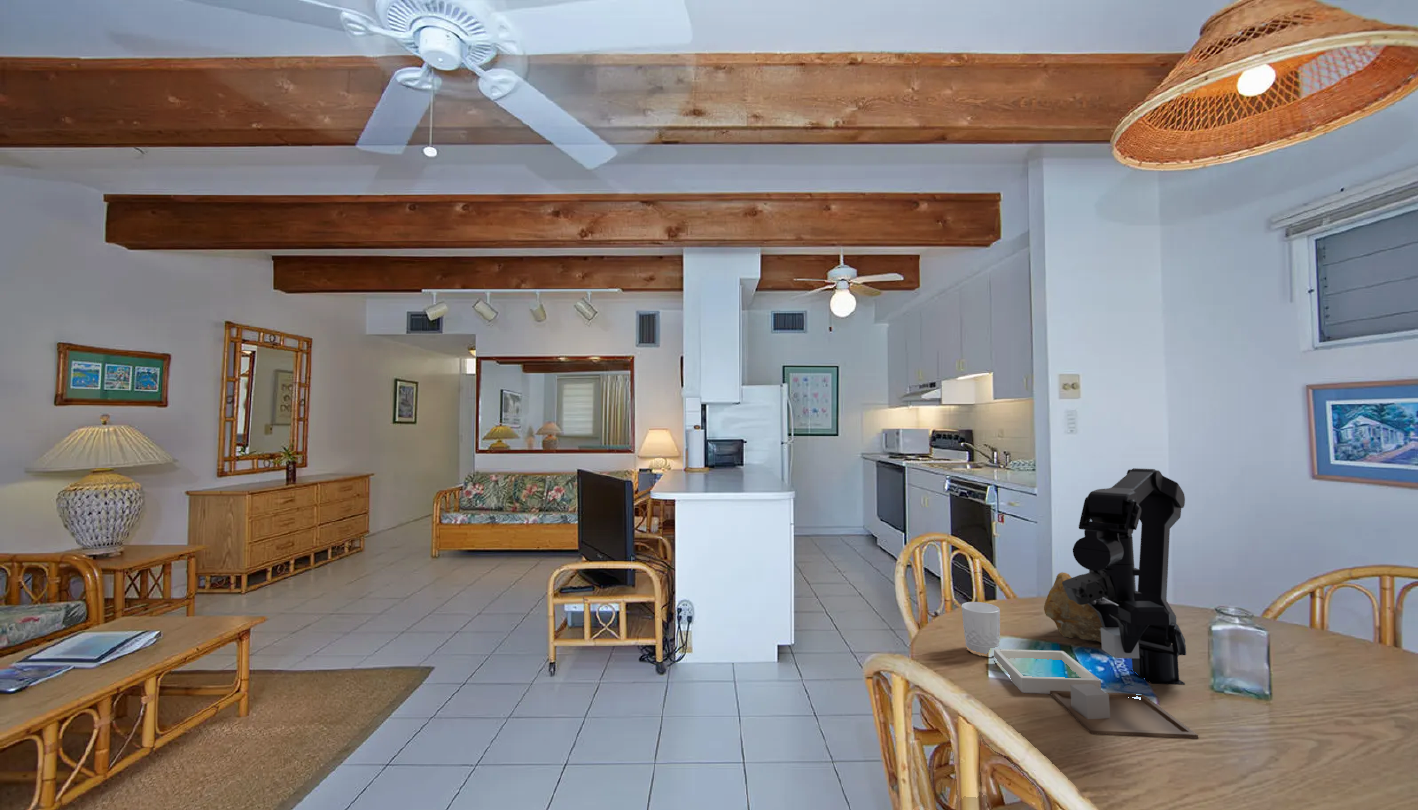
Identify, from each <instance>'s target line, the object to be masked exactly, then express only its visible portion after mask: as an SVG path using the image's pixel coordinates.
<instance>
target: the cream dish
mask: <svg viewBox="0 0 1418 810" xmlns="http://www.w3.org/2000/svg"><path fill="white" fill-rule="evenodd" d="M994 657H995V658H996V659H997V661H998V662H999V663H1000V664H1001V665H1002V667H1003V668H1004V669H1005V670H1006V671H1007V672H1008V674H1009V675H1010V678H1011V680H1012V681H1011V680H1010V681H1011V682H1012V683H1013V685H1015V687H1016V686H1017V687H1018V688H1017V687H1016V688H1017V689H1018V690H1019V691H1020V692H1021V693H1022V694H1024V693H1025V694H1049V695H1051V694H1050V691H1071V688H1070V685H1080V684H1093V685H1094V686H1096V687H1098V688H1099V689H1101V690H1102V683H1101V682H1102V680H1101V679H1100V678H1098V677H1097V676H1096V675H1095V674H1094V673H1092V672H1090V671H1089V670H1088V669H1087V668H1085V667H1084V666H1083V665H1082V664H1081V663H1079V662H1078V661H1077V660H1075V658H1073V657H1071V656H1070V655H1069V653H1066V651H1064V650H1040V649H1039V650H1038V649H1006V648H1005V649H1004V648H1003V649H1000V648H999V649H994ZM994 657H993V658H994ZM1007 658H1008V659H1010V658H1014V659H1015V658H1034V659H1047V660H1049V659H1052V660H1062V661H1063V662H1064V663H1065V664H1067V665H1068V666H1069V667H1070V669H1071V670H1072V671H1074V672H1076V674H1078V676H1079V677H1081V678H1065V677H1032V676H1023V675H1022V674H1021V673H1020V672H1019V671H1018V670H1017V669H1016V668H1015V667H1014V666H1013V665H1012V664H1011V663H1010V662H1009V661H1008V659H1007Z"/></svg>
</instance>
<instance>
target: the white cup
mask: <svg viewBox="0 0 1418 810" xmlns="http://www.w3.org/2000/svg"><path fill="white" fill-rule="evenodd" d="M1000 610H1001V609H1000V607H998V606H996V605H995V604H991V603H987V602H980V601H968V602H963V603H962V604H961V612H962V623H963V624H962V625H963V631H964V632H963V634H964V638H965V647H966V646H967V647H968V648H969V649H971V650H973V651H976V652H980V653H984V654H987V653H988V652H989V650H990V648H995V647H998V646H999V647H1000V640H1001V639H1000V638H1001V637H1000V634H1001V620H1000V619H1001V614H1000V613H1001V611H1000Z"/></svg>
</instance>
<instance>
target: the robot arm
mask: <svg viewBox="0 0 1418 810" xmlns="http://www.w3.org/2000/svg"><path fill="white" fill-rule="evenodd" d="M1185 503H1186V496H1185V492H1184V491H1183V489H1182V487H1181V486H1180V484H1179V483H1178V482H1177V481H1174V480H1173V479H1170V478H1168V477H1166V476H1165V475H1163V474H1162V472H1161V471H1160V470H1158V469H1155V468H1138V467H1137V468H1131V469H1128V470H1127V472H1126V475H1124V477H1122V478H1121V479H1119V480H1118V482H1116V483H1115V484H1114V485H1112V486H1111V487H1108V488H1098V489H1095V490H1092V491H1090V492H1089V493H1088V495H1087V496H1086V497H1085V499H1084V502H1083V506H1082V511H1081V514H1080V519H1079V524H1078V529H1079V530H1083V531H1084V536H1083V537H1081V538H1079V539H1078V540H1076V542H1075V543H1074V545H1073V548H1072V554H1073V557H1074V559H1075V561H1076V563H1078V564H1079V565H1080V566H1081V567H1083V568H1084V569H1086V570H1088V572H1086V573H1084V574H1079V575H1076V576H1072V578H1070V579H1067V580H1065V581H1063V582H1062V584H1063V587H1064V589H1065V591H1066V594H1067V596H1068V598H1069V599H1070V600H1073V601H1075V602H1076V603H1077V604H1079V605H1084V604H1088V605H1089V606H1091V607H1092V608H1093V609H1094V610H1095V611H1096V612H1097V614H1098V617H1099V619H1100V621H1101V624H1102V627H1119V631H1120V637H1121V642H1122V646H1123V650H1124V652H1125V653H1132V651H1133V649H1134V648H1135V646H1136V644H1137V642H1138V643H1139V658H1131V663H1132V664H1131V667H1132V668H1131V669H1133V671H1134V672H1136V673H1137V674H1138V675H1139V676H1140V677H1139V676H1138V675H1137V676H1138V677H1139V678H1141V677H1142V678H1145V680H1146V682H1147V683H1149V684H1153V685H1180V686H1183V685H1186V683H1185V682H1184V681H1183V680H1182V679H1180V673H1179V672H1180V670H1179V656H1187V645H1186V639H1185V637H1184V634H1183V633H1182V631H1181V629H1180V626H1179V624H1178V623H1177V615H1176V614H1175V612H1174V610H1173V609H1172V607H1171V605H1170V604H1169V603H1168V601H1167V599H1168V598H1167V594H1168V575H1169V571H1168V570H1169V553H1170V535H1171V533H1170V531H1171V528H1172V527H1173V526H1175V524H1176V523H1177V522H1178V521H1179V519H1181V515H1182V509H1183V508H1184V507H1185V505H1186V504H1185ZM1139 522H1140V523H1141V528H1140V529H1141V530H1140V531H1141V532H1140V546H1139V547H1140V549H1139V560H1138V561H1139V564H1138V568H1137V567H1135V557H1134V543H1133V542H1134V541H1133V535H1132V534H1133V533H1134V531H1135V530H1136V531H1137V529H1138V526H1139V525H1138V524H1139ZM1136 576H1138V579H1137V580H1138V581H1137V588H1136ZM1142 678H1141V679H1142ZM1145 680H1144V681H1145Z"/></svg>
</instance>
